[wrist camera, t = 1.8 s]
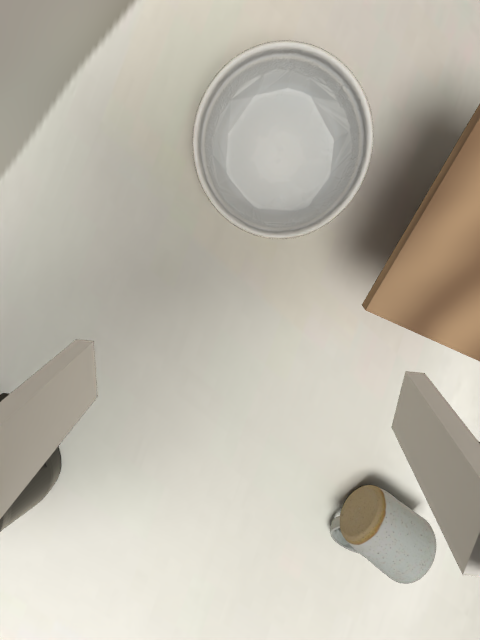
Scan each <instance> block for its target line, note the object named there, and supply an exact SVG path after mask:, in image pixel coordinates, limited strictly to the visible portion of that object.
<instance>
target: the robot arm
mask: <svg viewBox="0 0 480 640" xmlns="http://www.w3.org/2000/svg"><path fill="white" fill-rule="evenodd" d="M97 397H98V395H97V381H96V367H95V353H94V341H88V340H78V339H76V340H75V341H74V342H72V343H71V344H70V345H69V346H67V347H66V348H65V349H64V350H63V351H61V352H60V353H59V354H58V355H57V356H55V357H54V358H53V359H52V360H50V361H49V362H48V363H47V364H46V365H44V366H43V367H42V368H41V369H40V370H38V371H37V372H36V373H35V374H33V375H32V376H31V377H30V378H29V379H27V380H26V381H25V382H24V383H23V384H21V385H20V386H19V387H18V388H16V389H15V390H14V391H13V392H12V393H10V394H7V393H3V394H1V395H0V532H1V531H2V530H3V529H4V528H6V527H7V526H8V525H10V524H11V523H12V522H14V521H15V520H16V519H18V518H19V517H20V516H22V515H23V514H25V513H26V512H27V511H29V510H30V509H31V508H33V507H34V506H35V505H37V504H38V503H39V502H40V501H41V500H42V499H43V498H44V497H45V496H46V495H47V494H48V492H49V491H50V490H51V488H52V487H53V485H54V484H55V482H56V481H57V479H58V477H59V474H60V469H61V458H60V453H59V450H58V446H59V445H60V443H61V442H62V441H63V440H64V438H65V437H66V436H67V434H68V433H69V432H70V431H71V429H72V428H73V427H74V426H75V424H76V423H77V422H78V421H79V419H80V418H81V417H82V416H83V414H84V413H85V412H86V411H87V409H88V408H89V407H90V406H91V404H92V403H93V402H94V401H95V399H96V398H97ZM392 429H393V431H394V433H395V435H396V438H397V440H398V442H399V444H400V446H401V448H402V450H403V452H404V454H405V456H406V458H407V460H408V462H409V465H410V467H411V469H412V471H413V473H414V475H415V477H416V479H417V481H418V483H419V485H420V487H421V489H422V491H423V494H424V496H425V498H426V500H427V502H428V504H429V506H430V508H431V510H432V512H433V514H434V516H435V518H436V521H437V523H438V525H439V527H440V529H441V531H442V533H443V535H444V537H445V539H446V541H447V543H448V545H449V547H450V550H451V552H452V554H453V556H454V558H455V560H456V562H457V564H458V566H459V568H460V570H461V572H462V574H463V575H467V576H475V577H480V442H478V440H477V439H476V438H475V437H474V435H473V434H472V433H471V432H470V430H469V429H468V428H467V426H466V425H465V424H464V423H463V421H462V420H461V419H460V418H459V416H458V415H457V414H456V412H455V411H454V410H453V409H452V407H451V406H450V405H449V404H448V402H447V401H446V400H445V398H444V397H443V396H442V395H441V393H440V392H439V391H438V390H437V388H436V387H435V386H434V384H433V383H432V382H431V381H430V379H429V378H428V377H427V376H426V374H425V373H418V372H408V371H406V372H405V376H404V379H403V383H402V387H401V391H400V395H399V399H398V403H397V407H396V411H395V415H394V419H393V423H392Z"/></svg>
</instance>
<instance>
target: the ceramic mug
mask: <svg viewBox="0 0 480 640" xmlns="http://www.w3.org/2000/svg"><path fill="white" fill-rule="evenodd" d="M339 528H340V530H341V531H340V530H339ZM330 534H331V537H332V538H333V539H334V541H335V542H337V543H338V544H339V545H341V546H342V547H344V548H346V549H348V550H350V551H353V552H356V553H360V554H361V555H362V556H364V557H365V558H367V559H368V560H369V561H370V562H371V563H372V564H373V565H375V566H376V567H377V568H378V569H380V570H381V571H382V572H383V573H384V574H386V575H387V576H388V577H389V578H391V579H392V580H394V581H396V582H398V583H404V584H408V583H413V582H415V581H417V580H419V579H421V578H422V577H423V576H424V575H425V574H426V573H427V571H428V570H429V569H430V567H431V565H432V563H433V561H434V557H435V553H436V539H435V534H434V532H433V530H432V528H431V526H430V524H429V523H428V522H427V521H426V520H425V519H424V518H422V517H421V516H419V515H418V514H417V513H415V512H414V511H413V510H411V509H410V508H409V507H407V506H406V505H404V504H403V503H402V502H400V501H399V500H397V499H396V498H395V497H394V496H392V495H391V494H390V493H388V492H387V491H385V490H383V489H381V488H379V487H377V486H374V485H366V486H362V487H360V488H358V489H356V490H355V491H353V492H352V494H351V495H350V496H349V497H348V498H347V499H346V501H345V503H344V505H343V507H342V510H341V514H340V516H338V517H336V518H334V519H333V521H332V523H331V528H330Z"/></svg>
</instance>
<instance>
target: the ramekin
mask: <svg viewBox="0 0 480 640" xmlns="http://www.w3.org/2000/svg"><path fill="white" fill-rule="evenodd" d="M373 137H374V135H373V121H372V114H371V110H370V106H369V103H368V100H367V97H366V95H365V93H364V91H363V89H362V87H361V85H360V83H359V82H358V80H357V79H356V77H355V76H354V74H353V73H352V72H351V71H350V70H349V69H348V68H347V67H346V66H345V65H344V64H343V63H342V62H341V61H340V60H339V59H337V58H336V57H335V56H333V55H332V54H330V53H329V52H327V51H325V50H323V49H321V48H319V47H317V46H314V45H311V44H307V43H303V42H297V41H274V42H268V43H264V44H261V45H258V46H255V47H252V48H250V49H248V50H246V51H244V52H242V53H241V54H239V55H237V56H236V57H235V58H233V59H232V60H231V61H229V62H228V63H227V64H226V65H225V66H224V67H223V68H222V69H221V70H220V71H219V72H218V74H217V75H216V76H215V77H214V79H213V80H212V81H211V83H210V84H209V86H208V88H207V90H206V91H205V93H204V95H203V97H202V99H201V102H200V104H199V107H198V110H197V113H196V117H195V122H194V128H193V157H194V163H195V168H196V172H197V175H198V178H199V181H200V184H201V186H202V188H203V190H204V192H205V194H206V195H207V197H208V199H209V200H210V202H211V203H212V204H213V206H214V207H215V208H216V209H217V210H218V212H219V213H220V214H221V215H222V216H223V217H225V218H226V219H227V220H228V221H229V222H231V223H232V224H233V225H235V226H237V227H238V228H240V229H242V230H244V231H246V232H248V233H251V234H253V235H256V236H260V237H265V238H272V239H287V238H294V237H299V236H302V235H305V234H308V233H311V232H313V231H315V230H317V229H319V228H321V227H323V226H324V225H326V224H327V223H329V222H330V221H331V220H333V219H334V218H335V217H336V216H338V215H339V214H340V213H341V212H342V211H343V210H344V209H345V208H346V206H347V205H348V204H349V203H350V202H351V200H352V199H353V198H354V196H355V195H356V193H357V192H358V190H359V188H360V186H361V184H362V182H363V180H364V178H365V176H366V173H367V170H368V167H369V164H370V160H371V155H372V149H373Z"/></svg>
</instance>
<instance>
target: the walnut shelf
mask: <svg viewBox="0 0 480 640" xmlns="http://www.w3.org/2000/svg"><path fill="white" fill-rule="evenodd" d="M362 306H363V307H364V309H365V310H366V311H368V312H371V313H373V314H375V315H377V316H380V317H382V318H384V319H386V320H389V321H391V322H393V323H395V324H398V325H400V326H402V327H404V328H407V329H409V330H411V331H413V332H415V333H418V334H420V335H422V336H424V337H427V338H429V339H431V340H433V341H436V342H438V343H440V344H442V345H445V346H447V347H449V348H451V349H453V350H456V351H458V352H460V353H462V354H465V355H467V356H469V357H471V358H474V359H476V360H478V361H480V104H479V106H478V107H477V109H476V111H475V113H474V114H473V116H472V118H471V119H470V121H469V123H468V124H467V126H466V128H465V130H464V131H463V133H462V135H461V136H460V138H459V140H458V142H457V143H456V145H455V147H454V148H453V150H452V152H451V154H450V155H449V157H448V159H447V160H446V162H445V164H444V165H443V167H442V169H441V171H440V172H439V174H438V176H437V177H436V179H435V181H434V183H433V184H432V186H431V188H430V189H429V191H428V193H427V194H426V196H425V198H424V200H423V201H422V203H421V205H420V206H419V208H418V210H417V212H416V213H415V215H414V217H413V218H412V220H411V222H410V223H409V225H408V227H407V229H406V230H405V232H404V234H403V235H402V237H401V239H400V241H399V242H398V244H397V246H396V247H395V249H394V251H393V252H392V254H391V256H390V258H389V259H388V261H387V263H386V264H385V266H384V268H383V270H382V271H381V273H380V275H379V276H378V278H377V280H376V282H375V283H374V285H373V287H372V288H371V290H370V292H369V293H368V295H367V297H366V299H365V300H364V302H363V304H362Z"/></svg>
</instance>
